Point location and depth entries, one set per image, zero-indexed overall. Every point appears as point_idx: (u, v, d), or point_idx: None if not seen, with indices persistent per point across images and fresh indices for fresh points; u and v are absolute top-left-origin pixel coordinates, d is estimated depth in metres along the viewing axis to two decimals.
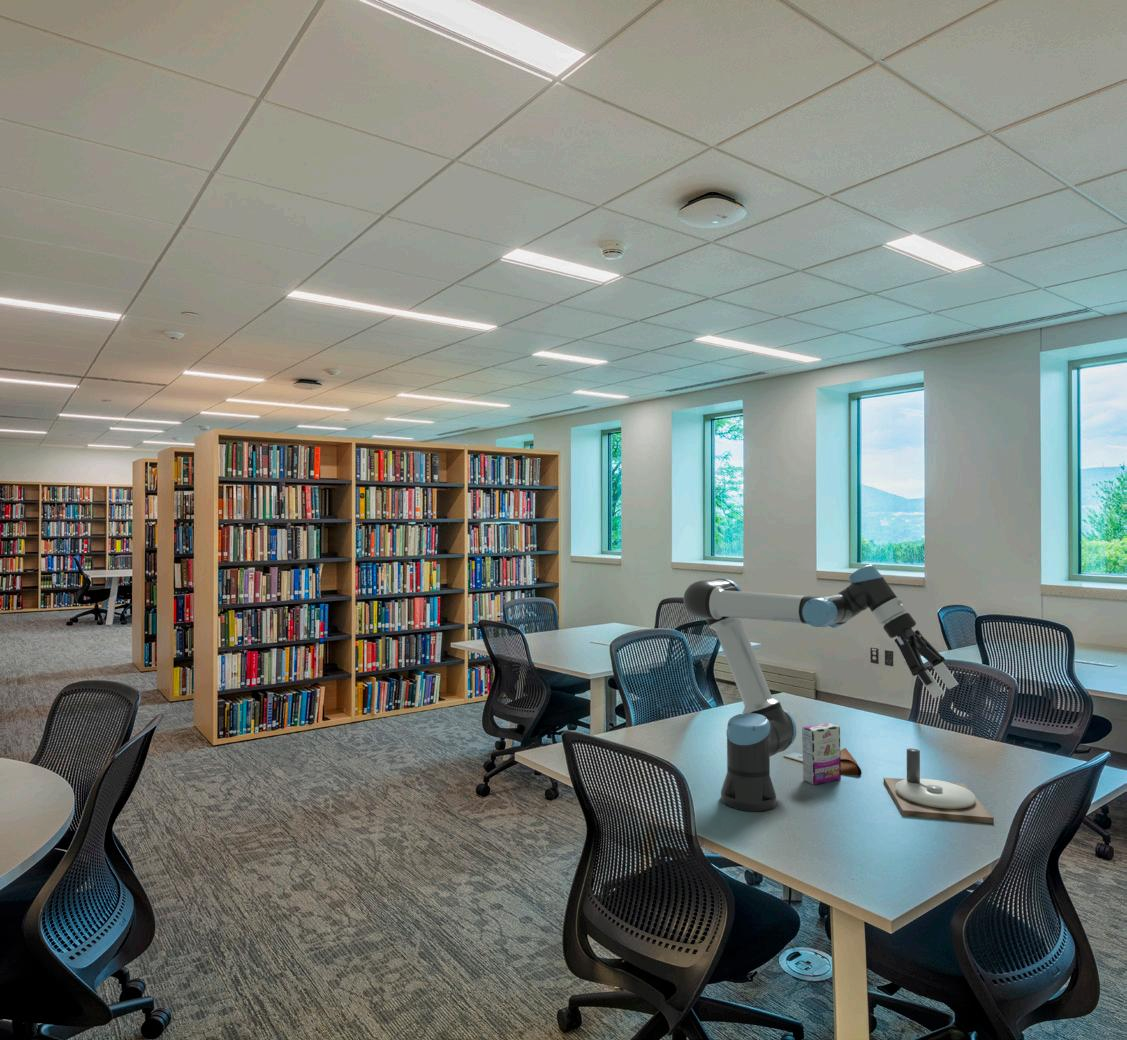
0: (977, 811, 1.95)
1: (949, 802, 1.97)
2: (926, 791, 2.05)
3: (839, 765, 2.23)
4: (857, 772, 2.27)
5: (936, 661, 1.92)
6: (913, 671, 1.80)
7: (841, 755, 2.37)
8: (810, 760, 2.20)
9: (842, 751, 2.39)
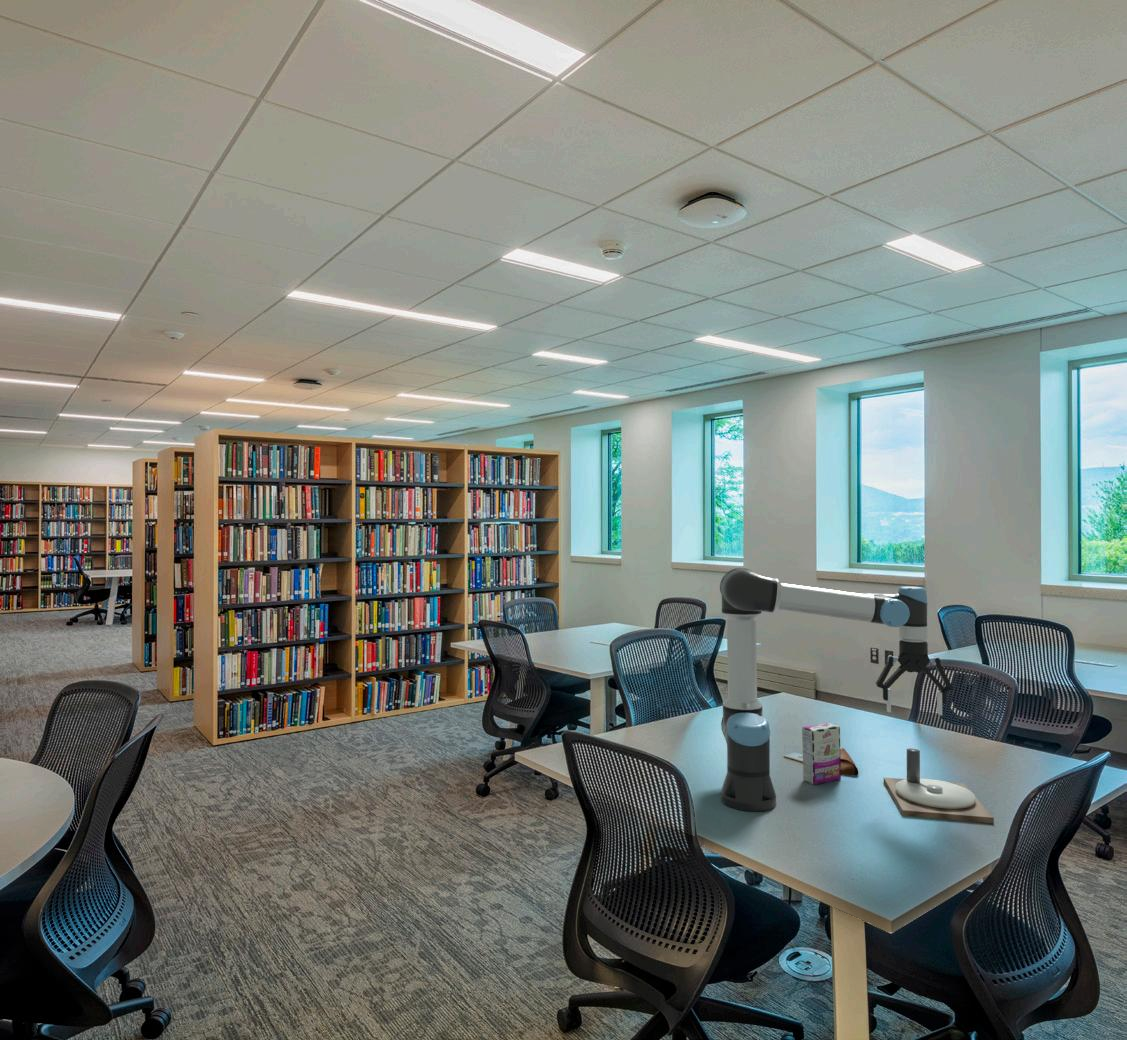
0: (977, 811, 1.95)
1: (949, 802, 1.97)
2: (926, 791, 2.05)
3: (839, 765, 2.23)
4: (854, 772, 2.27)
5: None
6: None
7: None
8: (810, 760, 2.20)
9: (840, 751, 2.40)
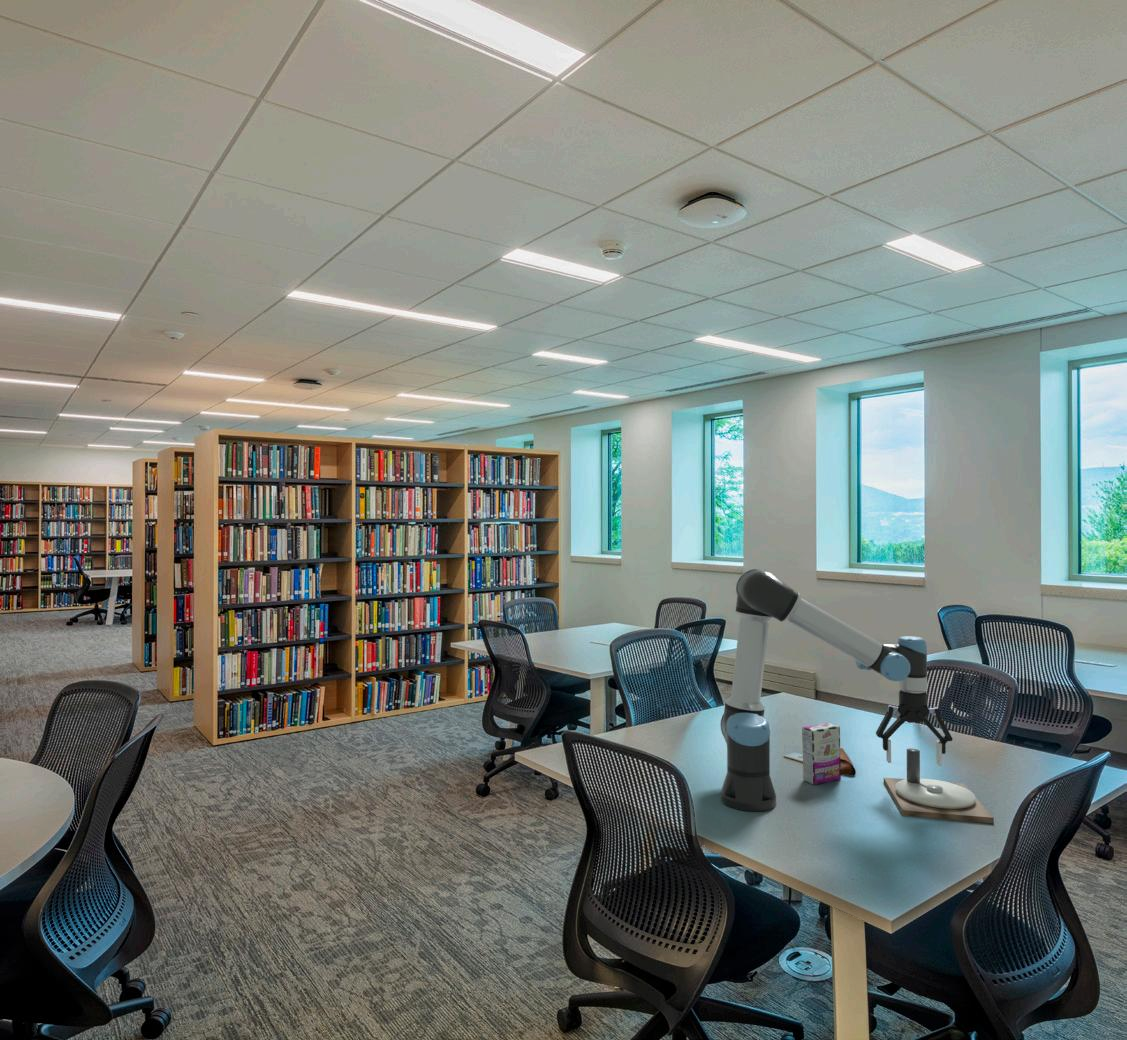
0: (977, 811, 1.95)
1: (949, 802, 1.97)
2: (926, 791, 2.05)
3: (839, 765, 2.23)
4: (851, 772, 2.27)
5: None
6: None
7: None
8: (810, 760, 2.20)
9: None
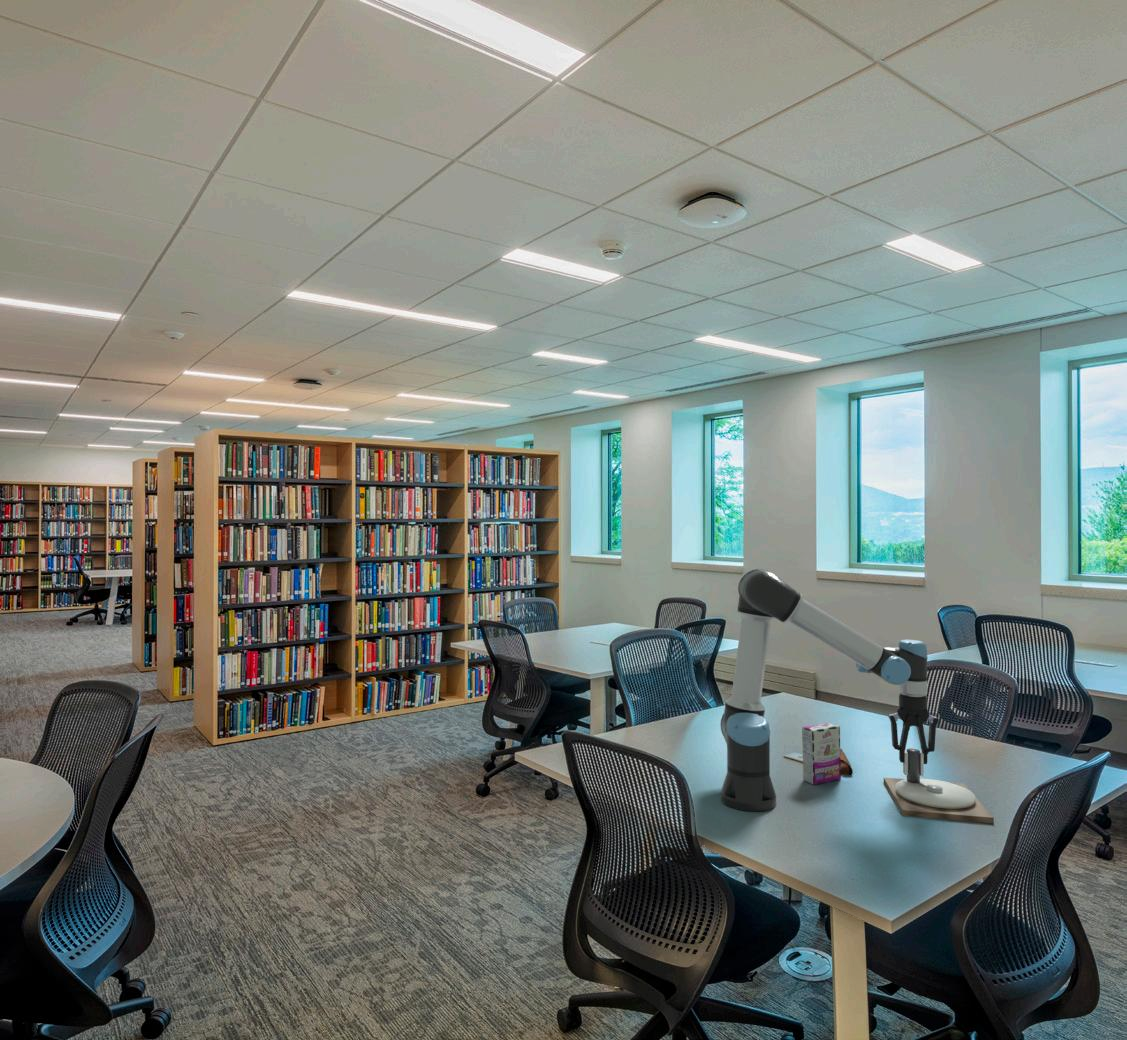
0: (977, 811, 1.95)
1: (949, 802, 1.97)
2: (926, 791, 2.05)
3: (839, 765, 2.23)
4: (848, 772, 2.28)
5: None
6: None
7: None
8: (810, 759, 2.20)
9: None
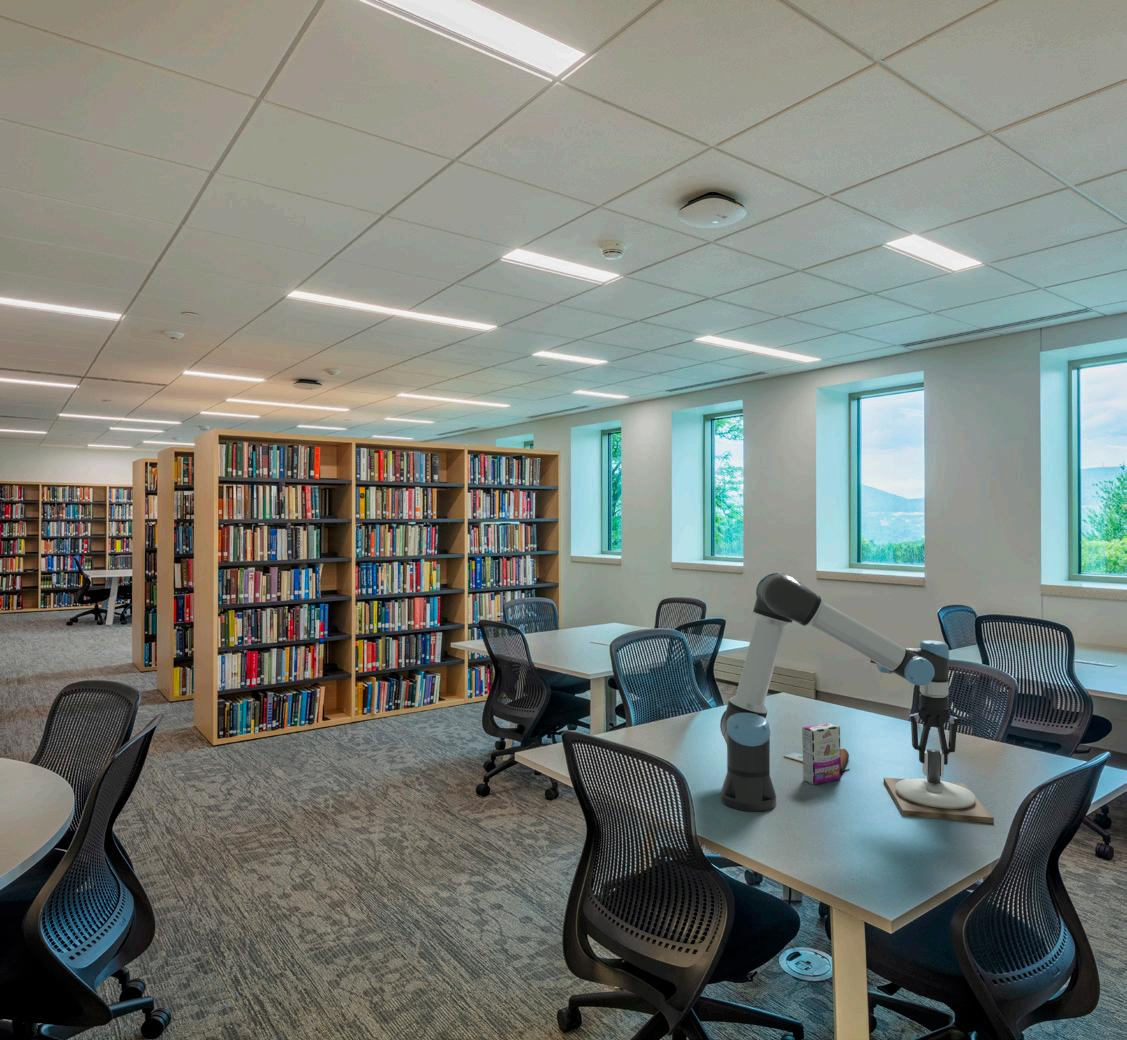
0: (977, 811, 1.95)
1: (922, 799, 2.00)
2: (924, 789, 2.07)
3: (839, 765, 2.23)
4: None
5: None
6: None
7: None
8: (810, 759, 2.20)
9: None
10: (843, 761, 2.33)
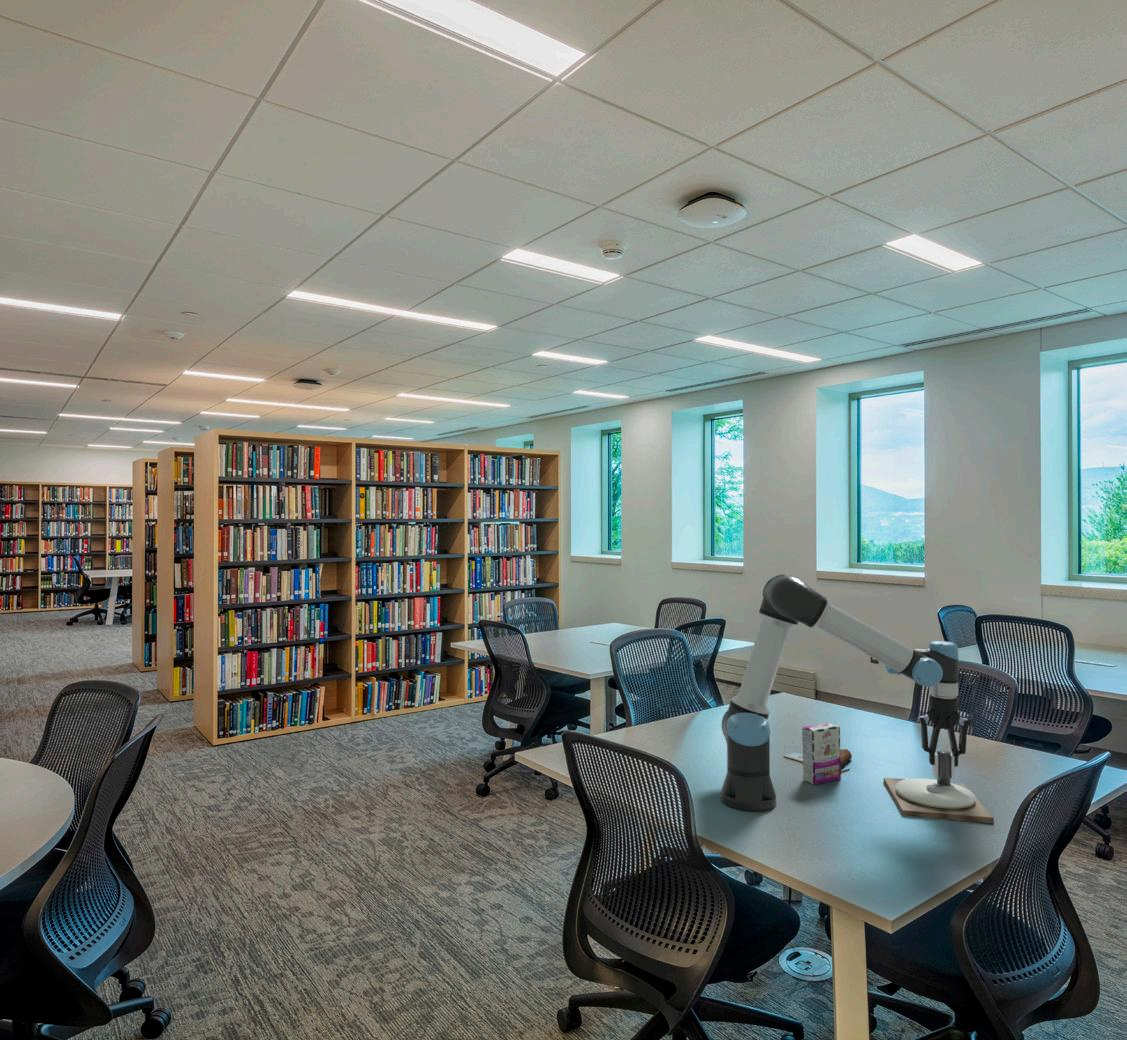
0: (977, 811, 1.95)
1: (912, 795, 2.02)
2: (924, 788, 2.08)
3: (839, 765, 2.23)
4: None
5: None
6: None
7: None
8: (810, 759, 2.20)
9: None
10: None
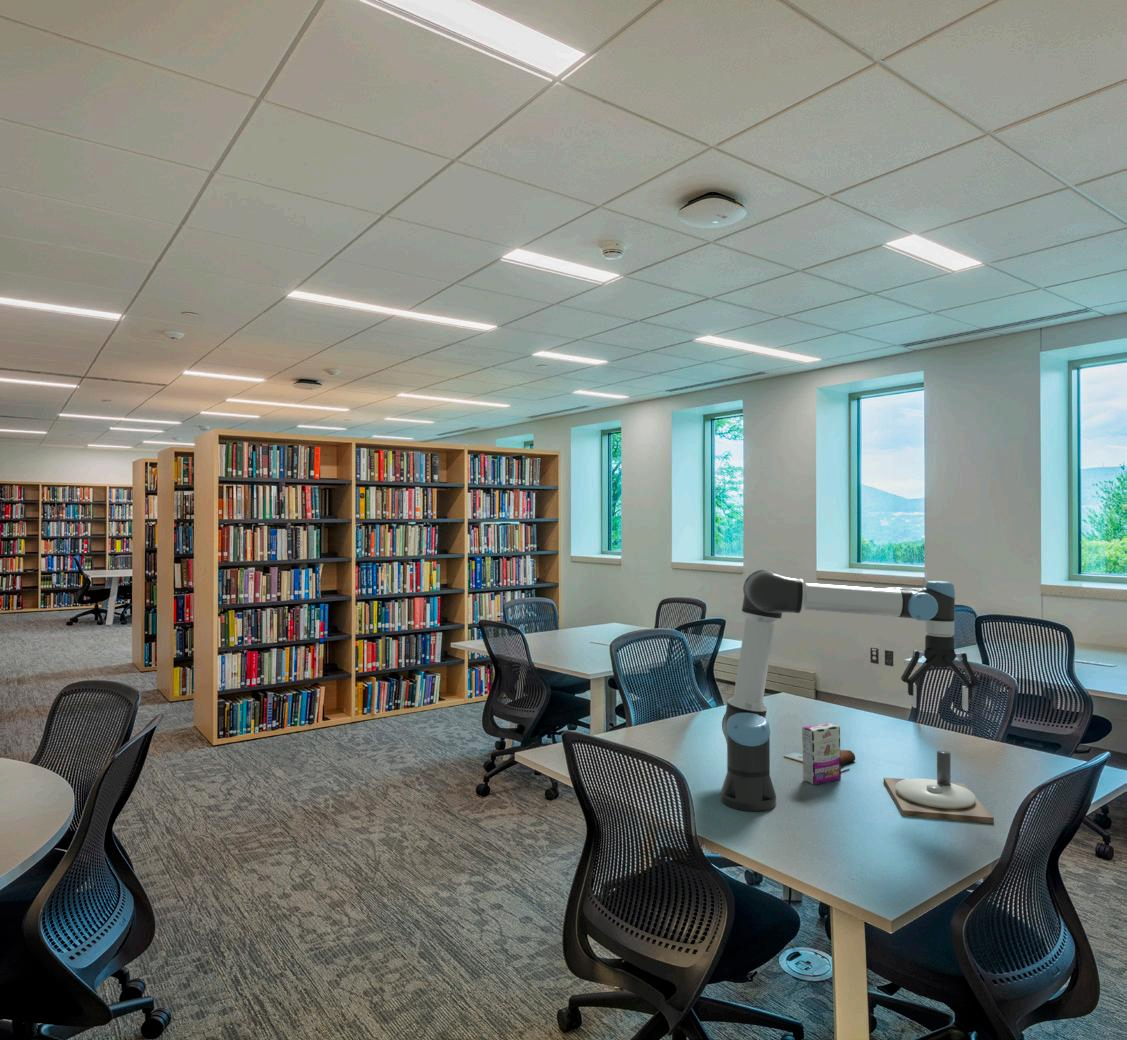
0: (977, 811, 1.95)
1: (912, 795, 2.02)
2: (924, 788, 2.08)
3: (839, 765, 2.23)
4: None
5: None
6: None
7: None
8: (810, 760, 2.20)
9: None
10: None
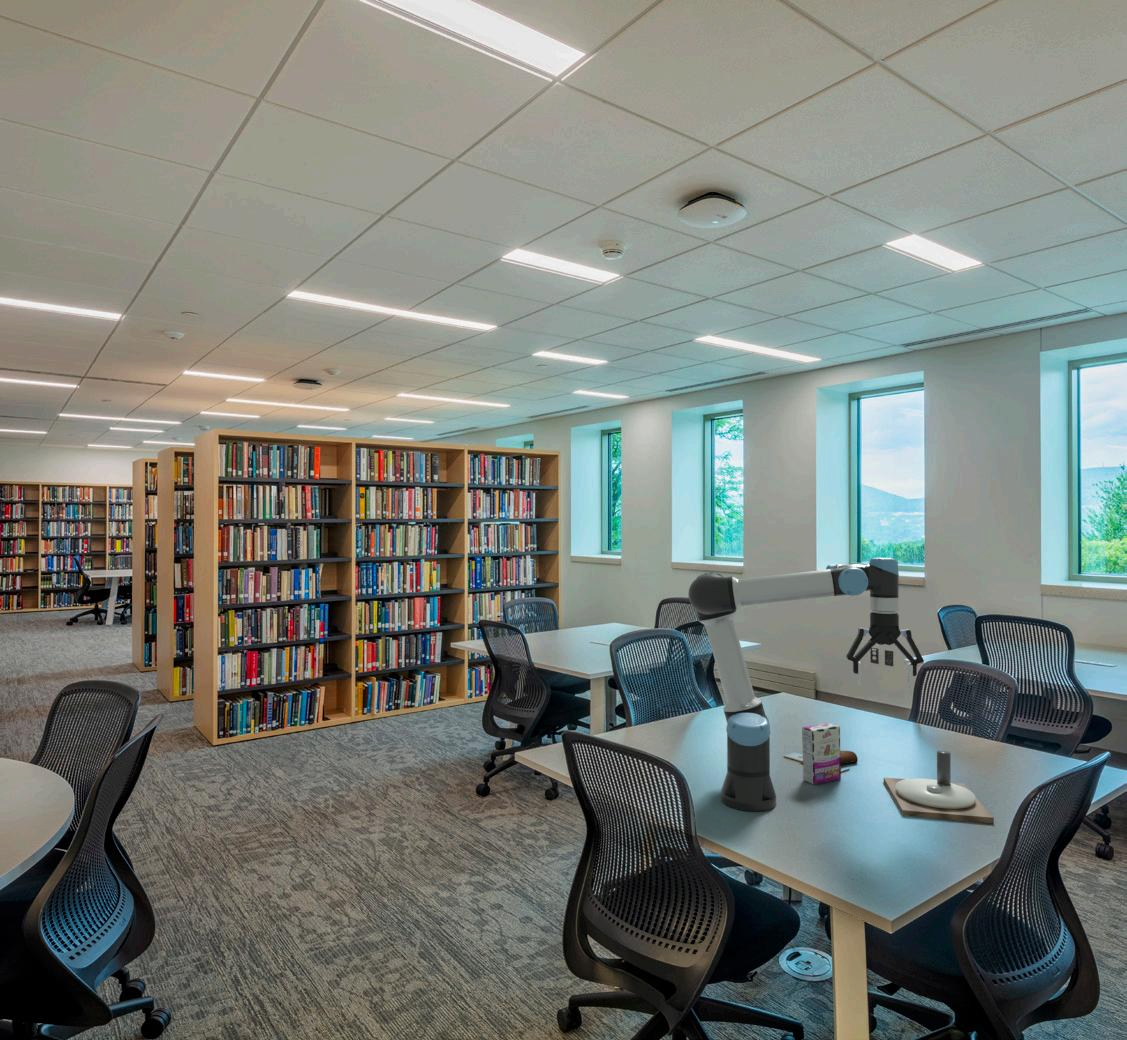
0: (977, 811, 1.95)
1: (912, 795, 2.02)
2: (924, 788, 2.08)
3: (839, 765, 2.23)
4: None
5: None
6: None
7: None
8: (810, 760, 2.20)
9: None
10: None
